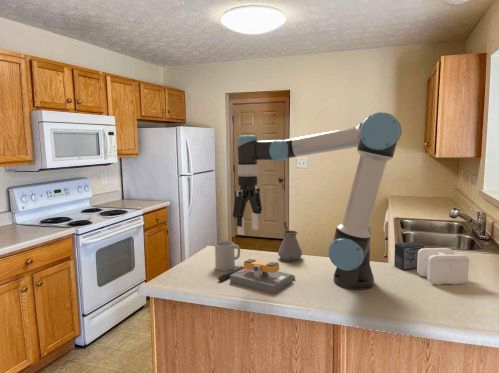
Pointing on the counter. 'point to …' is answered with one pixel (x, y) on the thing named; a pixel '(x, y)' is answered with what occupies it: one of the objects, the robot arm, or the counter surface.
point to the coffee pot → (289, 246)
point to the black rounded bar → (229, 273)
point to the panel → (261, 279)
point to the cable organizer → (442, 266)
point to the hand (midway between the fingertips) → (248, 231)
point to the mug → (225, 255)
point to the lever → (262, 265)
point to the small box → (407, 255)
